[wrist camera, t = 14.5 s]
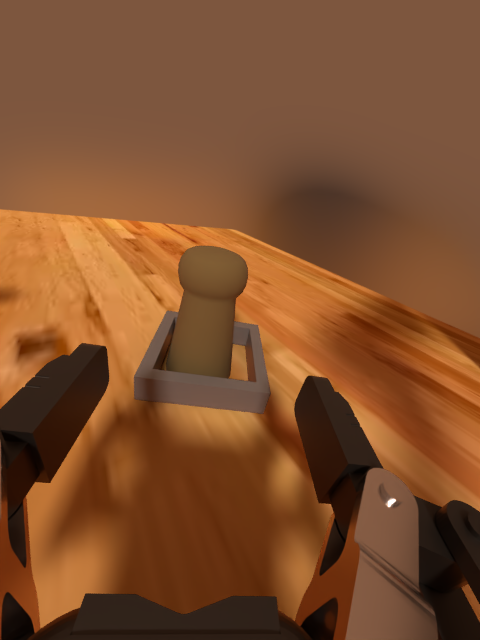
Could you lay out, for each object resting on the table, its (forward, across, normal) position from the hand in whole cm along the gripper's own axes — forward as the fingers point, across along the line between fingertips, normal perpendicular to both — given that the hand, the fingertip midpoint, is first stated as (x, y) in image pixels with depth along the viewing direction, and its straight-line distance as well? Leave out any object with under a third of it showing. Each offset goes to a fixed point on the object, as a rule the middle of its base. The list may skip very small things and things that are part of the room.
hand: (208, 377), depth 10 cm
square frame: (+11, 0, +8) cm, 14 cm away
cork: (+10, +1, +9) cm, 13 cm away
